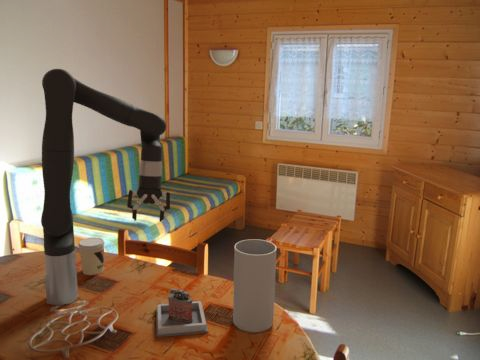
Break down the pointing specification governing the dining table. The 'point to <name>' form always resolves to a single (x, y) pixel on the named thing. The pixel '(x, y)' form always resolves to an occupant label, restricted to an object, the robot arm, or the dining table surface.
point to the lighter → (180, 306)
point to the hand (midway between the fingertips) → (148, 220)
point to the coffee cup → (92, 255)
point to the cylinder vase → (254, 285)
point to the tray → (175, 328)
